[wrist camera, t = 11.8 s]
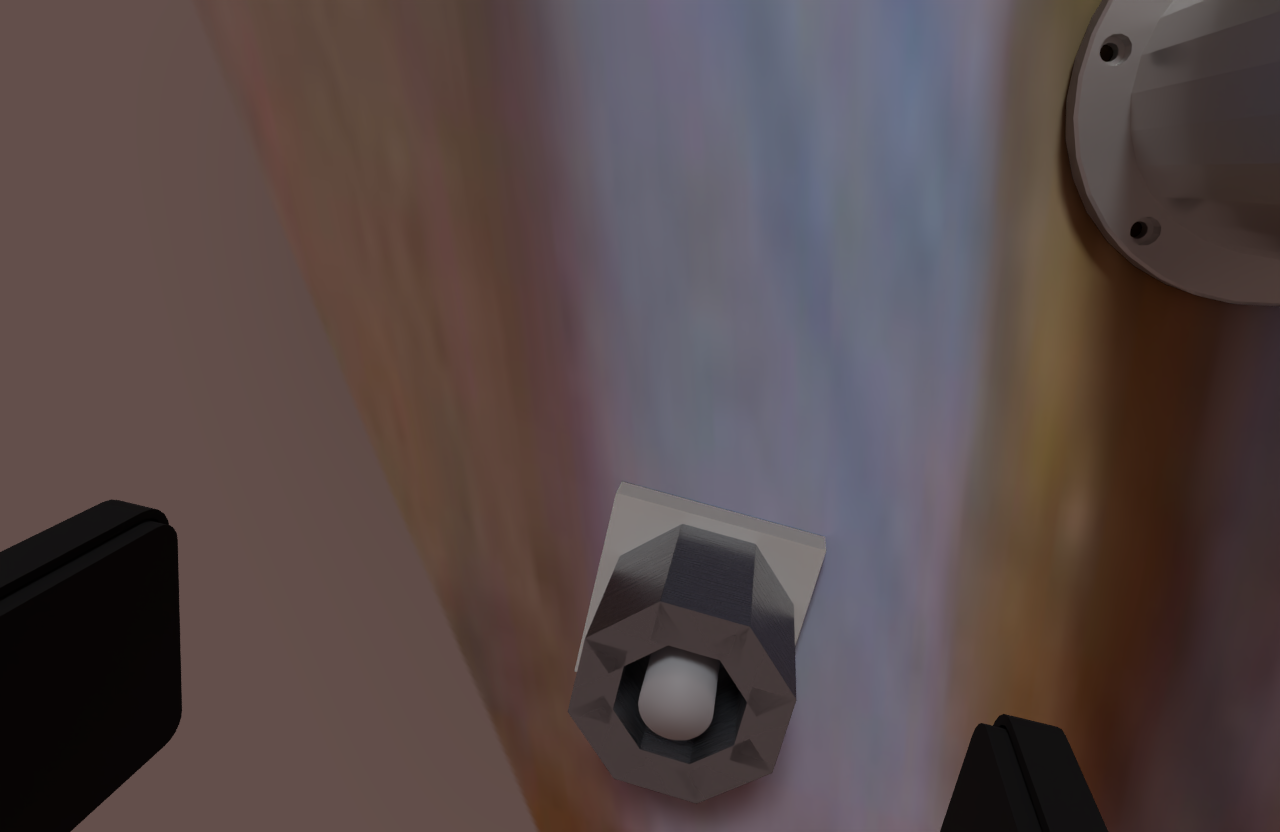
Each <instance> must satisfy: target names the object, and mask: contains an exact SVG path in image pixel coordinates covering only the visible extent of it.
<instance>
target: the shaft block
mask: <svg viewBox="0 0 1280 832" xmlns="http://www.w3.org/2000/svg"><path fill="white" fill-rule="evenodd" d="M681 524H685V525H689V526H693V527H696V528H700V529H703V530H707V531H711V532H714V533H718V534H722V535H725V536H729V537H733V538H736V539H740V540H743V541H747V542H751V543H754V544H756V545H757V547H758V548H759V550H760V551H761V553H762V555H763V556H764V558H765V559H766V561H767V563H768V564H769V566H770V567H771V569H772V571H773V572H774V574H775V575H776V577H777V579H778V580H779V582H780V583H781V585H782V587H783V588H784V590H785V591H786V593H787V595H788V596H789V598H790V600H791V601H792V603H793V604H794V631H795V645H796V642H797V639H798V636H799V633H800V630H801V627H802V624H803V621H804V618H805V615H806V612H807V609H808V605H809V602H810V599H811V596H812V593H813V590H814V587H815V584H816V581H817V578H818V575H819V572H820V569H821V566H822V563H823V559H824V556H825V553H826V542H825V537H823V536H819V535H816V534H812V533H808V532H805V531H801V530H797V529H794V528H790V527H787V526H783V525H779V524H776V523H772V522H768V521H765V520H761V519H757V518H754V517H750V516H746V515H743V514H739V513H735V512H732V511H728V510H724V509H721V508H717V507H713V506H710V505H706V504H702V503H699V502H695V501H692V500H688V499H684V498H681V497H677V496H673V495H670V494H666V493H662V492H659V491H655V490H651V489H648V488H644V487H640V486H637V485H633V484H629V483H626V482H621V484H620V486H619V488H618V490H617V492H616V496H615V500H614V504H613V509H612V513H611V517H610V522H609V526H608V530H607V534H606V539H605V543H604V547H603V551H602V556H601V560H600V564H599V569H598V573H597V577H596V581H595V586H594V590H593V594H592V598H591V603H590V607H589V611H588V616H587V620H586V624H585V628H584V633H583V637H582V641H581V646H580V650H579V654H578V658H577V663H576V667H575V672H577V670H578V666H579V662H580V657H581V653H582V649H583V644H584V640H585V637H586V635H587V632H588V630H589V628H590V625H591V623H592V620H593V618H594V616H595V613H596V611H597V609H598V606H599V604H600V602H601V599H602V597H603V594H604V592H605V590H606V587H607V585H608V583H609V580H610V578H611V575H612V573H613V571H614V568H615V566H616V564H617V561H618V559H619V557H620V556H621V555H623V554H625V553H627V552H629V551H630V550H632V549H634V548H636V547H638V546H640V545H642V544H644V543H646V542H648V541H650V540H652V539H654V538H656V537H657V536H659V535H661V534H663V533H665V532H667V531H669V530H671V529H673V528H675V527H677V526H679V525H681ZM719 666H720V660H717V659H714V658H710V657H707V656H703V655H700V654H696V653H693V652H689V651H686V650H682V649H679V648H675V647H672V646H669V645H668V646H666V647H664V648H661V649H659V650H657V651H655V652H653V653H651V656H650V659H649V663H648V667H647V670H646V674H645V678H644V681H643V685H642V689H641V692H640V696H639V701H638V707H639V712H640V715H641V718H642V720H643V721H644V723H645V724H646V725H647V726H648V727H649V728H650V729H651V730H652V731H653V732H654V733H656V734H658V735H660V736H662V737H664V738H667V739H671V740H688V739H692V738H695V737H697V736H699V735H700V734H702V733H703V732H704V731H705V730H706V729H707V728H708V727H709V725H710V723H711V721H712V718H713V713H714V705H715V697H716V690H717V682H718V674H719Z"/></svg>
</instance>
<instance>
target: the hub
mask: <svg viewBox="0 0 1280 832" xmlns="http://www.w3.org/2000/svg"><path fill="white" fill-rule="evenodd" d="M668 645H669V646H672V647H675V648H679V649H682V650H686V651H689V652H693V653H696V654H700V655H703V656H707V657H710V658H714V659H717V660H720V666H719V674H718V682H717V690H716V697H715V705H714V713H713V718H712V721H711V723H710V725H709V727H708V728H707V729H706V730H705V731H704V732H703V733H702V734H700V735H699V736H697V737H695V738H692V739H688V740H671V739H667V738H664V737H662V736H660V735H658V734H656V733H654V732H653V731H652V730H651V729H650V728H649V727H648V726H647V725H646V724H645V723H644V721H643V720H642V718H641V715H640V712H639V707H638V701H639V696H640V692H641V689H642V685H643V681H644V678H645V674H646V670H647V667H648V663H649V659H650V656H651V653H653V652H655V651H657V650H659V649H661V648H664V647H666V646H668ZM795 703H796V668H795V631H794V604H793V603H792V601H791V600H790V598H789V596H788V595H787V593H786V591H785V590H784V588H783V587H782V585H781V583H780V582H779V580H778V579H777V577H776V575H775V574H774V572H773V571H772V569H771V567H770V566H769V564H768V563H767V561H766V559H765V558H764V556H763V555H762V553H761V551H760V550H759V548H758V547H757V545H756V544H754V543H751V542H747V541H743V540H740V539H736V538H733V537H729V536H725V535H722V534H718V533H714V532H711V531H707V530H703V529H700V528H696V527H693V526H689V525H685V524H681V525H679V526H677V527H675V528H673V529H671V530H669V531H667V532H665V533H663V534H661V535H659V536H657V537H656V538H654V539H652V540H650V541H648V542H646V543H644V544H642V545H640V546H638V547H636V548H634V549H632V550H630V551H629V552H627V553H625V554H623V555H621V556H620V557H619V559H618V561H617V564H616V566H615V568H614V571H613V573H612V575H611V578H610V580H609V583H608V585H607V587H606V590H605V592H604V594H603V597H602V599H601V602H600V604H599V606H598V609H597V611H596V613H595V616H594V618H593V620H592V623H591V625H590V628H589V630H588V632H587V635H586V637H585V640H584V644H583V649H582V653H581V657H580V662H579V666H578V670H577V674H576V679H575V683H574V687H573V692H572V696H571V700H570V704H569V709H568V713H569V714H570V716H571V717H572V719H573V720H574V722H575V723H576V724H577V726H578V727H579V729H580V730H581V732H582V733H583V735H584V736H585V737H586V739H587V740H588V742H589V743H590V745H591V746H592V748H593V749H594V750H595V752H596V753H597V755H598V756H599V758H600V759H601V761H602V762H603V764H604V765H605V766H606V768H607V769H608V771H609V772H610V774H611V775H612V777H613V778H614V779H617V780H620V781H624V782H627V783H630V784H633V785H637V786H640V787H643V788H647V789H650V790H653V791H656V792H660V793H663V794H666V795H670V796H673V797H676V798H679V799H683V800H686V801H689V802H692V803H700V802H702V801H704V800H707V799H709V798H712V797H714V796H717V795H719V794H722V793H724V792H727V791H729V790H731V789H734V788H736V787H739V786H741V785H744V784H746V783H749V782H751V781H754V780H756V779H758V778H761V777H763V776H766V775H768V774H771V773H772V772H773V769H774V766H775V763H776V760H777V757H778V754H779V751H780V748H781V745H782V742H783V739H784V736H785V733H786V730H787V727H788V724H789V721H790V718H791V715H792V712H793V709H794V706H795Z"/></svg>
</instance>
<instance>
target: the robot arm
mask: <svg viewBox="0 0 1280 832" xmlns="http://www.w3.org/2000/svg"><path fill="white" fill-rule="evenodd" d="M1103 45H1109V46H1110V47H1112V50H1113V57H1112V58H1111V60H1110V61H1108V62H1105V61H1103V60H1102V59H1101V57H1100V49H1101V48H1102V46H1103ZM1066 145H1067V150H1068V156H1069V162H1070V167H1071V173H1072V178H1073V180H1074V183H1075V185H1076V187H1077V190H1078V192H1079V195H1080V197H1081V200H1082V202H1083V204H1084V207H1085V209H1086V212H1087V213H1088V214H1089V216H1090V217H1091V219H1092V220H1093V222H1094V223H1095V225H1096V226H1097V227H1098V229H1099V230H1100V232H1101V233H1102V235H1103V236H1104V237H1105V239H1106V240H1107V242H1109V243H1110V244H1111V245H1112V246H1113V247H1114V248H1115V249H1116V250H1117V251H1118V252H1119V253H1120V254H1122V255H1123V256H1124V257H1125V258H1126V259H1127V260H1128V261H1129V262H1130V263H1131V264H1132V265H1133V266H1135V267H1137V268H1139V269H1140V270H1142V271H1144V272H1145V273H1147V274H1149V275H1150V276H1152V277H1154V278H1156V279H1157V280H1159V281H1161V282H1162V283H1164V284H1166V285H1169V286H1172V287H1175V288H1177V289H1180V290H1183V291H1186V292H1188V293H1191V294H1194V295H1197V296H1201V297H1205V298H1210V299H1214V300H1218V301H1223V302H1227V303H1231V304H1243V305H1262V306H1280V0H1102V2H1101V3H1100V5H1099V7H1098V8H1097V10H1096V11H1095V13H1094V15H1093V16H1092V18H1091V21H1090V23H1089V26H1088V28H1087V31H1086V33H1085V35H1084V38H1083V40H1082V43H1081V45H1080V48H1079V50H1078V53H1077V55H1076V58H1075V62H1074V66H1073V71H1072V76H1071V80H1070V85H1069V90H1068V95H1067V99H1066ZM1135 222H1140V224H1141V226H1142V231H1141V233H1140V234H1139V235H1138V236H1136V237H1131V235H1130V230H1131V227H1132V225H1133V224H1134V223H1135ZM181 698H182V695H181V657H180V617H179V579H178V540H177V533H176V531H175V530H174V528H173V527H171V526H170V525H169V523H168V520H167V518H166V516H165V514H164V513H162V512H161V511H159V510H157V509H152V508H148V507H144V506H140V505H136V504H132V503H127V502H124V501H119V500H109V501H105V502H102V503H100V504H98V505H96V506H94V507H92V508H90V509H88V510H86V511H84V512H82V513H80V514H78V515H75V516H74V517H72V518H70V519H67V520H65V521H63V522H61V523H59V524H57V525H55V526H53V527H51V528H49V529H47V530H45V531H43V532H41V533H39V534H36V535H34V536H32V537H30V538H28V539H26V540H24V541H22V542H20V543H18V544H16V545H14V546H12V547H10V548H8V549H6V550H4V551H2V552H0V832H70V831H72V830H73V829H74V828H75V827H76V826H77V825H78V824H79V823H80V822H81V821H82V820H84V819H85V818H86V817H87V816H88V815H89V814H90V813H91V812H92V811H93V810H95V809H96V808H97V807H98V806H99V805H100V804H101V803H102V802H103V801H104V800H106V799H107V798H108V797H109V796H110V795H111V794H112V793H113V792H114V791H115V790H116V789H118V788H119V787H120V786H121V785H122V784H123V783H124V782H125V781H126V780H128V779H129V778H130V777H131V776H132V775H133V774H134V773H135V772H136V771H137V770H138V769H140V768H141V767H142V766H143V765H144V764H145V763H146V762H147V761H148V760H149V759H151V758H152V757H153V756H154V755H155V754H156V753H157V752H158V751H159V750H160V749H162V748H163V746H165V745H166V744H167V743H168V742H169V740H170V739H171V738H172V736H173V735H174V733H175V732H176V729H177V727H178V725H179V722H180V719H181V713H182V699H181ZM940 832H1108V830H1107V828H1106V826H1105V823H1104V821H1103V819H1102V817H1101V814H1100V812H1099V810H1098V808H1097V805H1096V803H1095V801H1094V799H1093V796H1092V794H1091V792H1090V790H1089V787H1088V785H1087V783H1086V781H1085V778H1084V776H1083V774H1082V771H1081V769H1080V767H1079V765H1078V762H1077V760H1076V758H1075V756H1074V753H1073V751H1072V749H1071V747H1070V744H1069V742H1068V740H1067V738H1066V735H1065V734H1064V732H1063V731H1062V729H1060V728H1058V727H1055V726H1051V725H1047V724H1043V723H1039V722H1035V721H1031V720H1026V719H1022V718H1018V717H1014V716H1010V715H1006V714H1003V715H1000V716H999V717H998V718H997V720H996V721H995V723H994V725H993V726H991V725H987V724H983V723H981V724H978V726H977V727H976V728H975V731H974V733H973V735H972V738H971V741H970V744H969V747H968V750H967V753H966V756H965V759H964V762H963V765H962V768H961V771H960V774H959V777H958V780H957V783H956V786H955V789H954V792H953V795H952V798H951V801H950V804H949V807H948V810H947V813H946V815H945V818H944V821H943V824H942V827H941V830H940Z"/></svg>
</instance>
